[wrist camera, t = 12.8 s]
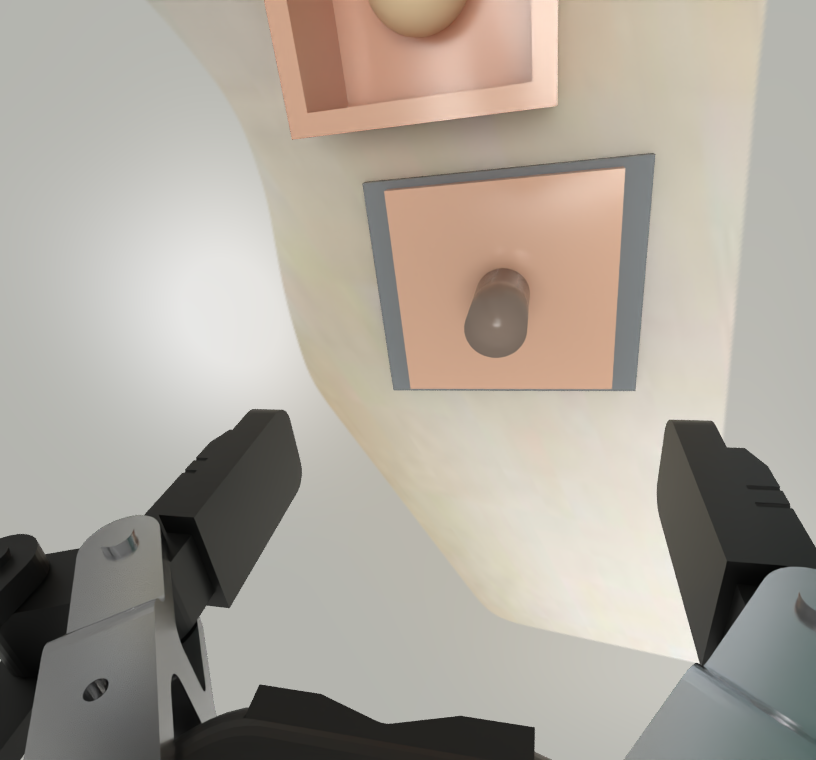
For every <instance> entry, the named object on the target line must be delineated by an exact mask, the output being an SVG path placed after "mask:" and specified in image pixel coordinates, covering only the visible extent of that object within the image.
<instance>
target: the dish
mask: <svg viewBox="0 0 816 760" xmlns="http://www.w3.org/2000/svg"><path fill="white" fill-rule="evenodd" d="M264 2H265V7H266V12H267V17H268V22H269V27H270V32H271V37H272V42H273V47H274V52H275V57H276V62H277V67H278V72H279V77H280V82H281V87H282V92H283V97H284V102H285V107H286V112H287V117H288V122H289V127H290V132H291V137H292V140H293V139H300V138H308V137H316V136H324V135H332V134H340V133H348V132H356V131H364V130H372V129H380V128H387V127H395V126H403V125H411V124H419V123H427V122H435V121H443V120H451V119H459V118H467V117H474V116H482V115H490V114H498V113H506V112H514V111H522V110H530V109H538V108H546V107H554V106H557V105H558V0H467V1H466V3H465V5H464V7H463V9H462V10H461V12H460V13H459V15H458V16H457V17H456V19H455V20H454V21H453V22H452V23H451V24H450V25H449V26H447V27H446V28H445V29H443V30H442V31H440V32H438V33H436V34H434V35H431V36H427V37H420V38H414V37H407V36H403V35H400V34H398V33H396V32H394V31H392V30H391V29H389V28H388V27H387V26H386V25H384V24H383V23H382V22H381V21H380V20H379V18H378V17H377V16H376V14H375V13H374V12H373V10H372V8H371V6H370V4H369V2H368V0H264Z"/></svg>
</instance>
